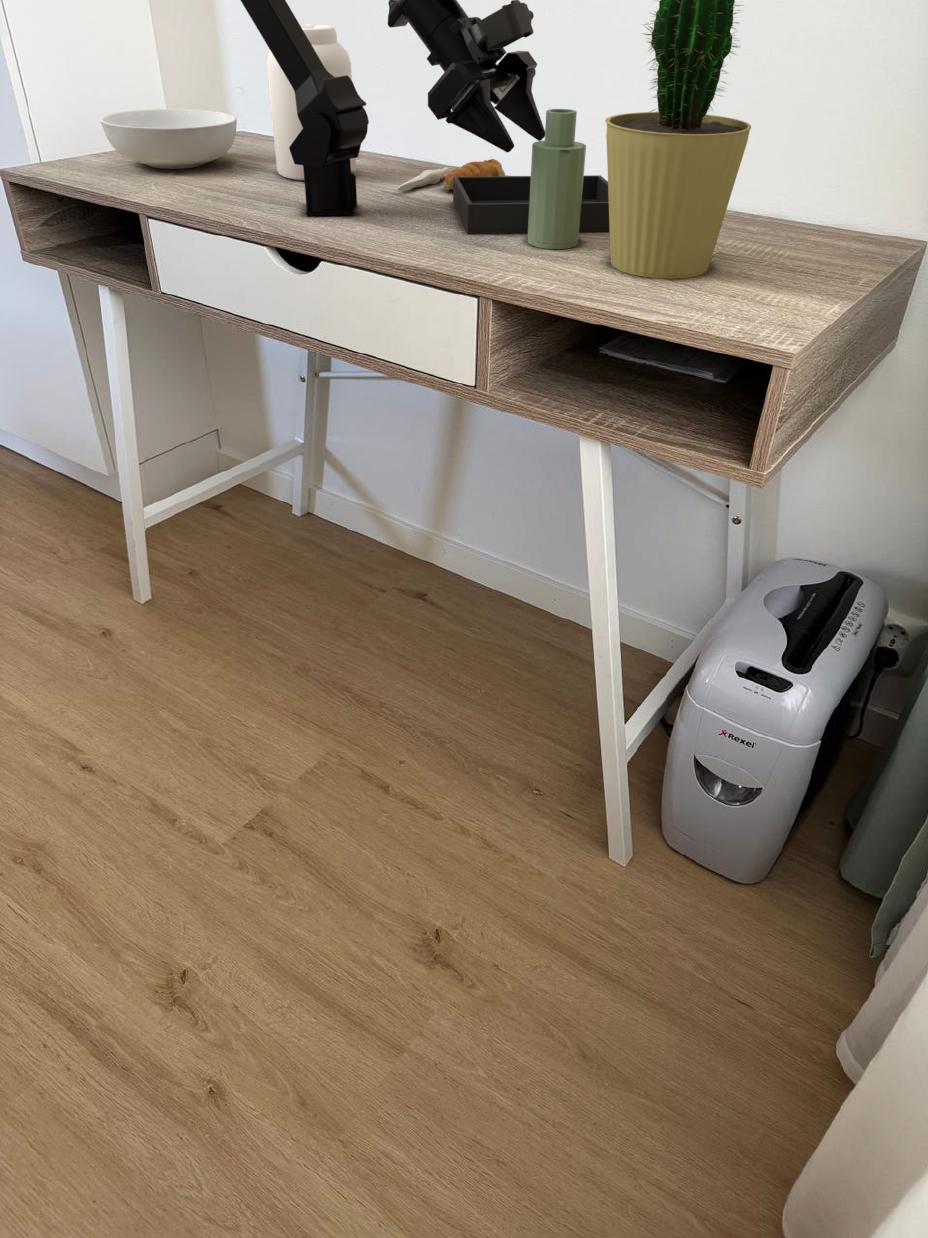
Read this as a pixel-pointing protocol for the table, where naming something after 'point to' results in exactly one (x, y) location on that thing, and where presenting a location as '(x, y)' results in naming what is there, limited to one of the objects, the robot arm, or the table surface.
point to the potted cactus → (676, 149)
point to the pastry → (475, 171)
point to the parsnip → (425, 179)
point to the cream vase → (285, 101)
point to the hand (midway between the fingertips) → (527, 143)
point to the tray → (520, 204)
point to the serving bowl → (170, 136)
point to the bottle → (556, 183)
